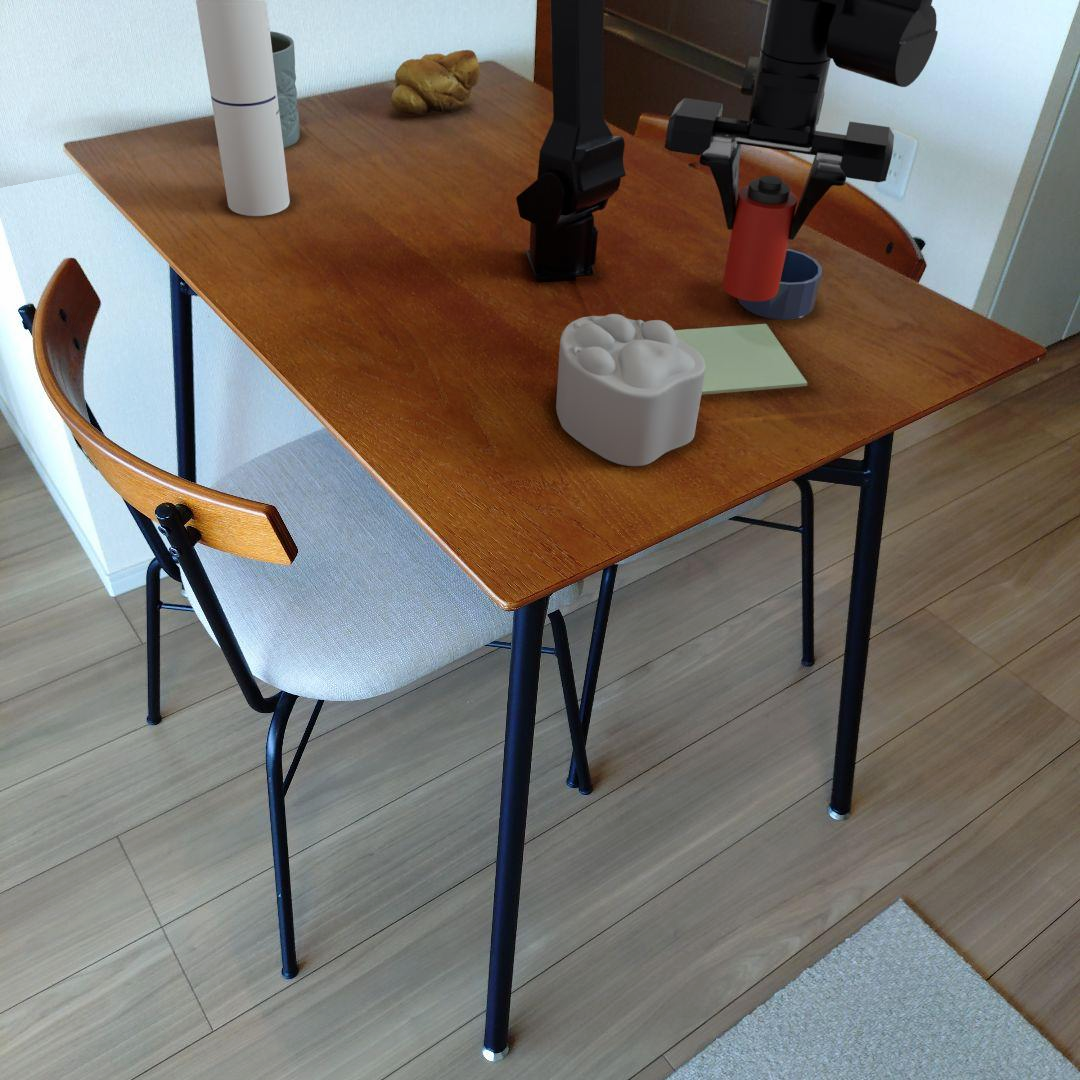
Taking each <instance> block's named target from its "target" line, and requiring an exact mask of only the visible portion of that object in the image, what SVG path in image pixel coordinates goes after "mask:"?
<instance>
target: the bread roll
mask: <svg viewBox="0 0 1080 1080" xmlns="http://www.w3.org/2000/svg"><path fill="white" fill-rule="evenodd" d="M480 72H481V71H480V63H479V59H478V57H477V54H476V53H475V51H473V50H472V49H462V50H456V51H453V52H449V53H448V54H446V55H444V54H443V53H431V54H430V53H429V54H427V53H426V54H424V55H422V57H421V58H416V59H415V58H414V59H413V58H411V59H407V60H405V61H403V62H402V63H401V64H400V65H399V66H398V68H397V69H396V71H395V74H394V79H395V87H394V90H393V92H392V93H391V100H390V101H391V106H392V107H393V109H394V110H395V111H396V112H397V113H399V114H400V115H405V116H413V117H420V116H424V115H427V114H429V113H431V112H433V113H452V112H456V111H457V110H460V109H463V108H464V107H466V106H467V104H468V103H469V101H470V98H471V93H472V90H473V87H475V86H477V84H478V83H479V82H478V81H479V78H480Z"/></svg>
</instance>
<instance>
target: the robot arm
mask: <svg viewBox="0 0 1080 1080" xmlns="http://www.w3.org/2000/svg"><path fill="white" fill-rule="evenodd" d="M932 4H933V0H768V2H767V9H766V14H765V21H764V25H763V26H764V27H763V32H762V37H761V44H760V50H759V56H753V55H748V56H747V58H746V63H745V67H744V72H743V77H742V83H741V87H740V94H741V95H743V96H750V97H751V103H750V108H749V114H748V119H747V120H745V119H744V120H743V119H738V118H729V117H723V111H724V110H723V106H724V105H723V103H722V102H715V101H708V100H701V99H694V98H688V97H687V98H686V97H684V98H682V100H681V101H679V102H678V103H677V104H676V106H675V108H674V110H673V112H672V113H671V116H670V118H669V119H668V122H667V123H668V124H667V127H666V134H665V143H664V149H666V150H668V151H669V152H675V153H681V154H687V155H695V156H699V164H700V165H702V166H705V167H709V170H710V171H711V174H712V176H713V179H714V182H715V184H716V187H717V191H718V192H719V196H720V200H721V205H722V209H723V214H724V218H725V223H726V227H727V230H729V231H732V228H733V222H734V217H735V210H736V204H737V198H738V193H739V173H740V160H741V159H740V158H741V151H742V145H743V146H748V147H749V146H750V147H756V148H762V149H770V150H778V151H783V152H790V153H797V154H803V155H810V156H814V158H813V160H812V164H811V166H810V169H809V173H808V176H807V179H806V182H805V184H804V186H803V187H804V188H803V190H802V193H801V196H800V197H799V201H798V203H797V206H796V209H795V214H794V219H793V222H792V226H791V230H790V235H789V241H790V240H792V241H793V240H794V239H795V238H796V236H797V234H798V233H799V231H801V229H802V226H803V225H804V224H805V222H806V220H807V219H808V217H809V216H810V214H811V213H812V211H813V210H814V208H815V207H816V206H817V204H818V203H819V202H820V200H821V199H822V198H823V197H824V196H825V195H826V194H827V192H828V191H829V190H830V189H831V188H832V187H833V186H836V187H842V186H845V184H846V181H847V179H853V180H860V181H867V182H873V183H882V182H886V181H887V177H888V174H889V170H890V167H891V166H890V165H891V161H892V157H893V153H894V143H895V142H894V141H895V135H894V133H893V131H892V130H891V127H890V126H883V125H878V124H871V123H870V124H869V123H863V122H855V121H849V122H848V126H847V129H846V134H840V133H834V132H827V131H821V130H817V126H818V124H819V121H820V116H821V112H822V109H823V108H822V107H823V103H824V98H825V88H826V85H827V80H828V79H827V78H828V74H829V69H830V65H831V61H833V63H834V65H835V66H836V67H837V68H839V69H841V70H842V69H843V70H844V71H848V72H850V73H851V72H852V73H855V74H858V75H862V76H865V77H868V78H871V79H874V80H877V81H881V82H884V83H887V84H890V85H893V86H897V87H900V88H906V87H909V86H910V85H911V84H913V83H914V82H915V81H916V80H917V79H918V78H919V76H920V75H921V73H922V72H923V70H924V69H925V67H926V66H927V63H928V62H929V61H930V58H931V55H932V52H933V51H934V47H935V45H936V41H937V37H938V32H939V31H938V30H936V29H937V24H938V23H937V13H936V12H937V11H936V8H934V6H933V5H932ZM550 36H551V41H550V42H551V73H552V75H551V77H552V111H553V115H552V116H553V117H552V122H551V124H550V125H549V126H550V127H549V128H548V131H547V133H546V135H545V137H544V140H543V142H542V145H541V147H540V150H539V157H538V167H537V177H536V178H537V179H536V180H535V181H533V182H532V183H531V184H530V185H529V186H527V187H526V188H525V189H524V190H523V191H521V192H520V193H519V194H518V195H517V196H516V198H515V200H516V205H517V210H518V214H519V217H520V218H521V219H522V220H525V221H527V222H529V223H530V228H529V229H530V230H529V231H530V232H529V249H527V250H525V258H526V260H527V262H528V264H529V268H530V269H531V272H532V274H533V277H534V279H535V280H536V281H537V282H545V281H563V280H576V279H577V278H578V277H579V278H580V277H592V276H595V269H594V268H593V267H592V266H594V265H596V261H597V248H598V237H599V230H598V228H597V226H596V224H595V216H594V214H593V213H596V212H597V211H598V212H599V211H602V210H605V208H606V206H607V204H608V202H609V199H610V198H612V196H613V195H615V194H616V193H617V192H618V191H619V188H620V186H621V179H622V178H623V177H625V176H626V175H627V174H626V169H625V167H624V154H625V153H624V152H625V145H626V142H625V138H624V137H623V136H622V135H614V134H613V132H612V130H611V128H610V127H609V125H608V123H607V122H606V120H605V117H604V0H550Z"/></svg>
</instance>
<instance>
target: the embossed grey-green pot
mask: <svg viewBox="0 0 1080 1080" xmlns="http://www.w3.org/2000/svg"><path fill="white" fill-rule="evenodd" d="M270 36H271V45H272V54H273V62H274V71H275V79H276V88H277V96H278V105H279V114H280V122H281V131H282V139H283V148H284V149H285V148H289V147H291V146H293V145H294V144H296V143H298V141H299V139H300V135H301V133H300V117H299V110H298V91H297V86H296V81H297V75H296V57H295V56H296V55H295V54H296V53H295V52H296V51H295V42H294V39H293V38H292V37H291V36H289V35H286V34H284V33H282V32H281V33H280V32H277V31H272V30H270Z"/></svg>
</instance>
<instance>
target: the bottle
mask: <svg viewBox="0 0 1080 1080" xmlns="http://www.w3.org/2000/svg"><path fill="white" fill-rule="evenodd" d="M797 205H798V197H797V195H796V194H795V193H794V192H792V191H791V186H790V185H789V184H788V183H786V182H785V181H783V179H782V178H780V177H778V176H776V175H770V174H768V175H767V174H766V175H761V176H760V177H759V178H755V179H752V180H751V181H750V182H749V183H748V185H745V186H743V187H742V188H740V189H739V190H738V193H737V204H736V210H735V217H734V222H733V228H732V230H731V234H730V239H729V245H728V252H727V257H726V263H725V268H724V275H723V280H722V288H723V290H724V291H725V292H726V293H727V294H729V295H730V296H732V297H734V298H736V299H738V298H739V299H742V300H747V301H765V300H769V299H772V298H774V297H775V296H776V295H777V293H778V289H779V285H780V280H781V275H782V271H783V266H784V261H785V256H786V252H787V249H788V248H789V247H788V246H789V242H790V239H789V235H790V230H791V226H792V222H793V219H794V215H795V212H796V209H797Z"/></svg>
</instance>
